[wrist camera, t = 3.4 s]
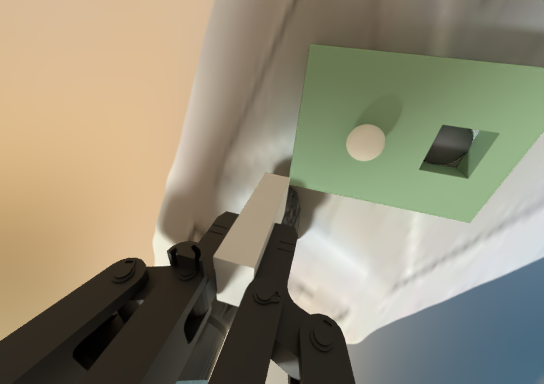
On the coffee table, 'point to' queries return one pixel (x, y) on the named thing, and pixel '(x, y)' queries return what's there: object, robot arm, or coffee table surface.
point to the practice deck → (415, 127)
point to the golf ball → (365, 142)
